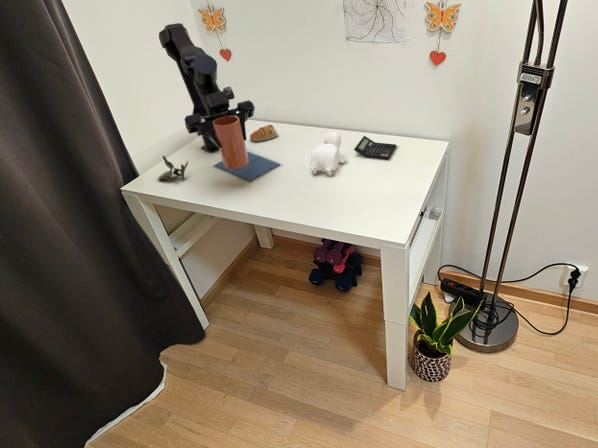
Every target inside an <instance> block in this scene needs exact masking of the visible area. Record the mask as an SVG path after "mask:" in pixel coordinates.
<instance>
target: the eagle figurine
mask: <svg viewBox="0 0 598 448" xmlns="http://www.w3.org/2000/svg"><path fill="white" fill-rule="evenodd" d="M162 160H163V161H164V164H165V166H166V167H167V168H169V170H167V171H165V172H163V173H162V174H161V176H159V177H158V181H161V180H168V179H169V178H170V177H174V175H175V176H178V177H181V179H182V180H185V172H186V169H187V167H188V165H189V161H188V160H187V161H186V163H185V165H184V164H180V168H176V167H175V166H174V164H172V162H170V161H168V159H167V158H166V156H165V155H162Z"/></svg>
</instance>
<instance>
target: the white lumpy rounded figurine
mask: <svg viewBox="0 0 598 448" xmlns="http://www.w3.org/2000/svg"><path fill="white" fill-rule="evenodd" d="M341 145H342V137H341V135H340V133H338V132H335V131H330V132H327V133H326V134H325V137H324V140H323V144H320V145H319V146H317V147H316V148H315V149H314V150H313V151H312V152H311V154H310V167H311V168H310V169H311V170H312V174H313V175H317V172H325V173H326V172H327V175H328V176H329V177H332V175H333V174H332V171H335V170H337V169H338V168H339V163H343V164H345V163H346V159H345V158H344V157H343V156H342V155H341V153H340V147H341Z"/></svg>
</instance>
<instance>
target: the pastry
mask: <svg viewBox="0 0 598 448" xmlns="http://www.w3.org/2000/svg"><path fill="white" fill-rule="evenodd" d="M277 136H278V132H277V130H276V129H275V126H274V125H273V124H268V125H264V126H261V127H259V128H257V130H254V131H253V132H252V133H251V134H250V136H249V139H250V141H251V142H252V141H253V142H257V143H258V142H264V141H269V140H271V139H275V138H276V137H277Z"/></svg>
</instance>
